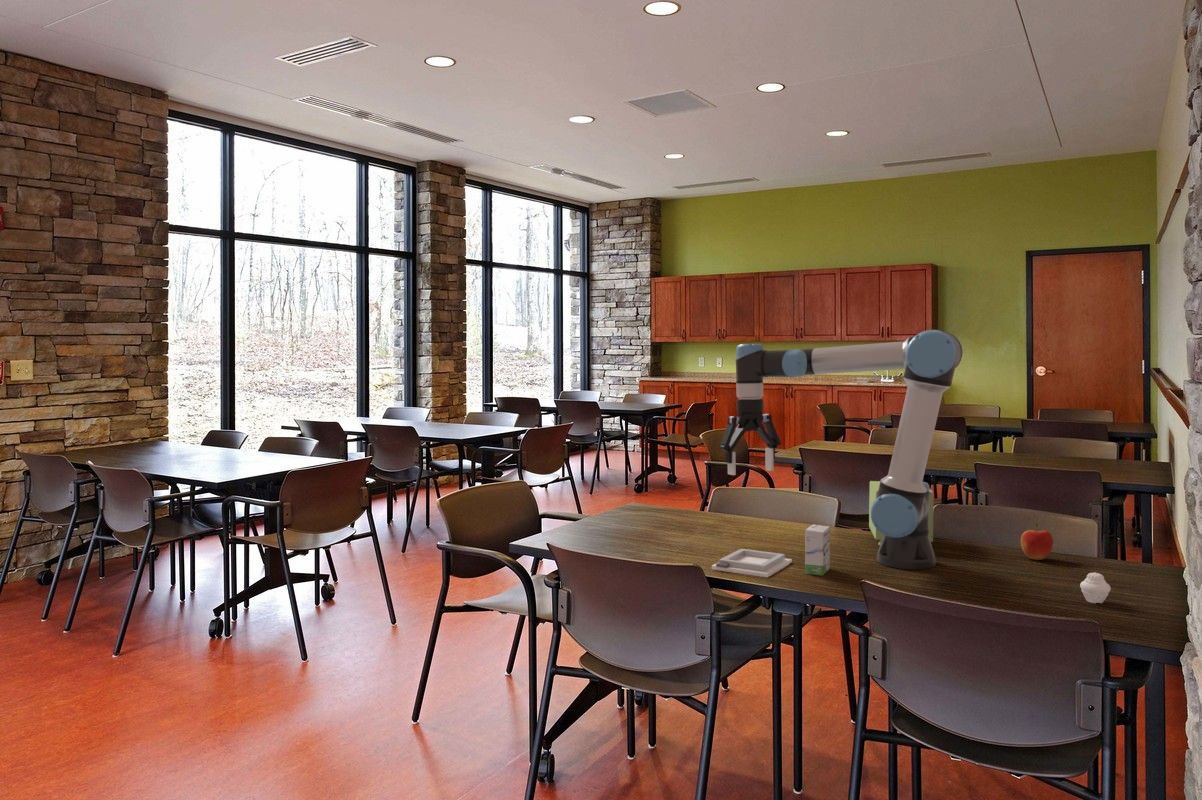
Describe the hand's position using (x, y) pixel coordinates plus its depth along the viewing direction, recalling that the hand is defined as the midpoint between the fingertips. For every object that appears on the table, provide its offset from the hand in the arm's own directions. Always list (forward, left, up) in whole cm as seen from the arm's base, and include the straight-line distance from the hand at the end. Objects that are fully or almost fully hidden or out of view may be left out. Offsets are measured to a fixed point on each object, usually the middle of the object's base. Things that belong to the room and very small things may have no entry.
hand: (750, 472), depth 243 cm
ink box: (-21, +5, -25) cm, 33 cm away
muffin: (-85, -2, -25) cm, 89 cm away
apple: (-69, -39, -25) cm, 83 cm away
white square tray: (-4, +9, -24) cm, 26 cm away
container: (-31, -42, -25) cm, 58 cm away
